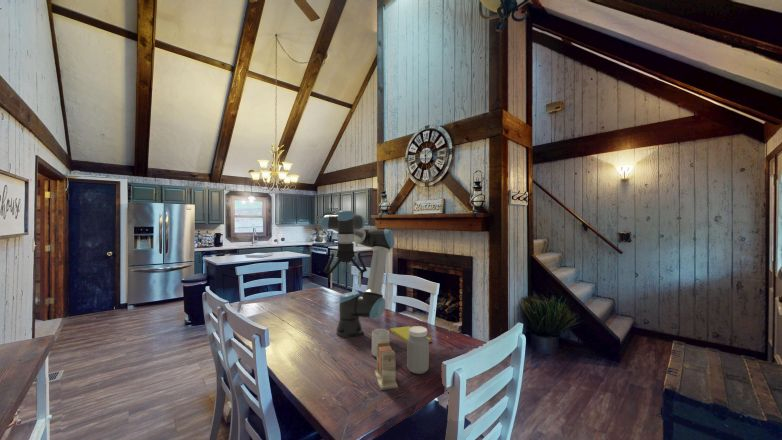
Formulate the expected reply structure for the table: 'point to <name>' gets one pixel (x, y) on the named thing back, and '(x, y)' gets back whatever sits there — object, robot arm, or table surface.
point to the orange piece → (381, 349)
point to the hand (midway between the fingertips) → (345, 286)
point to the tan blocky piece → (386, 367)
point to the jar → (417, 350)
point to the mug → (378, 338)
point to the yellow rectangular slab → (403, 333)
